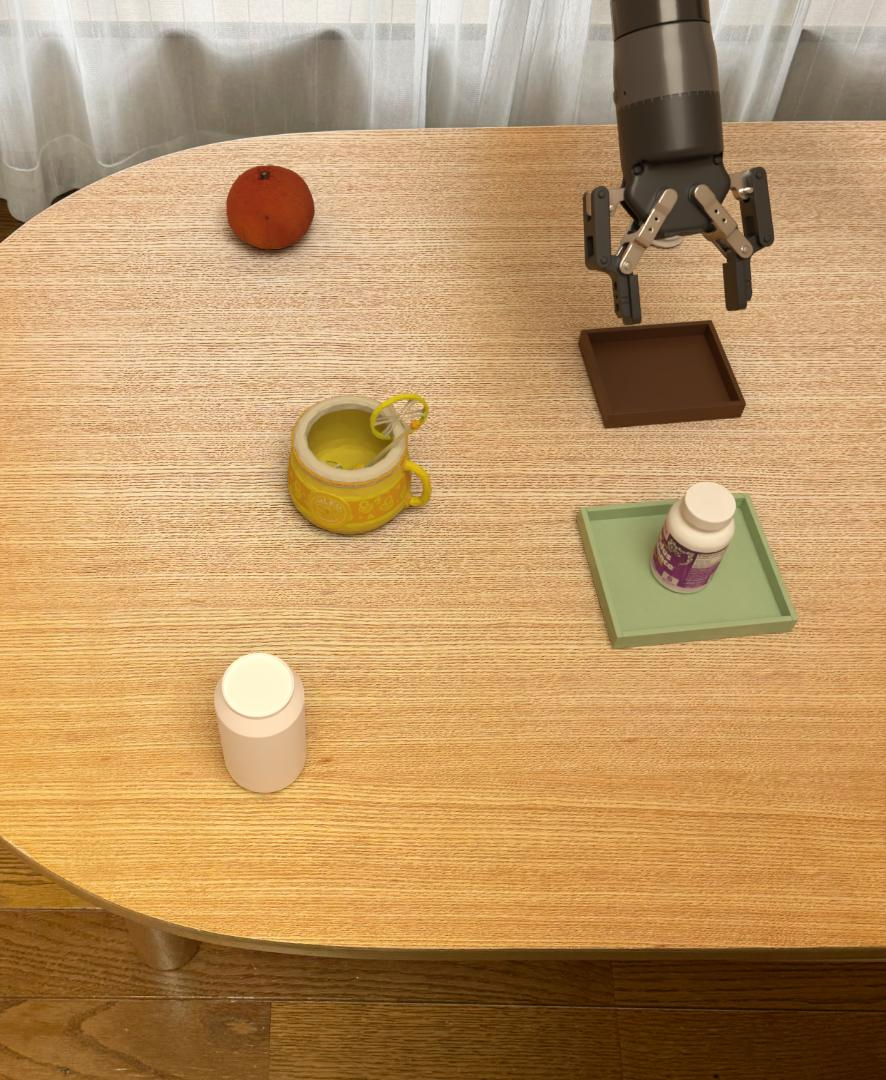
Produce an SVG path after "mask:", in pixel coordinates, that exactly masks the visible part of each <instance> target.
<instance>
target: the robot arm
mask: <svg viewBox="0 0 886 1080" xmlns="http://www.w3.org/2000/svg"><path fill="white" fill-rule="evenodd" d="M710 7H711V6H710V0H609V8H610V21H611V32H612V42H613V60H612V61H613V62H612V83H613V92H612V101H613V103H614V106H615V116H616V117H615V118H616V127H617V139H618V149H619V158H620V159H619V161H620V168H621V174H622V181H621V185H620V187H616V188H615V187H614V188H607V187H606V186H604V185H599V186H596V187H593V188H591V189H589V190H586V191H585V192H584V193H583V195H582V218H583V219H582V220H583V221H582V222H583V243H584V245H583V247H584V265H585V268H586V269H587V270H589V271H595V272H600V273H604V274H607V275H608V276H609V277H610V280H611V287H612V288H611V289H612V299H613V309H614V314H615V316H616V318H617V319H621V322H622V324H623V326H637V325H641V324H642V321H643V320H642V318H643V317H642V305H641V296H640V285H639V274H638V273H636V274H634V271H635V269H636V267H637V266H638V264H639V262H640V261H641V259H642V257H643V255H644V253H645V252H646V250H648V249H649V247H650V246H652V245H651V243H652V242H653V240H660V239H666V238H670V237H674V236H684V237H689V236H696V235H699V234H701V235H702V237H704V239H705V240H706V241H708V242H710V243H712V244H713V245H714V247H715V248H716V249H717V250H718V252H720V253H721V255H722V256H723V257H724V259H726V262H723V263H722V264H721V265H722V266H721V267H722V278H723V291H724V292H723V293H724V304H725V305H724V306H725V309H726V311H727V312H737V311H744V310H746V309H747V307H748V302H750V301H752V297H753V282H752V267H751V259H752V257H753V255H755V254H756V253H757V252H759V251H762V249H765V248H768V247H771V246H773V244H774V242H775V231H774V223H773V215H772V205H771V199H770V192H769V191H770V190H769V182H768V175H767V171H766V169H765V168H764V167H762V166H755V167H751V168H748V169H745V170H743V171H740V172H735V173H730V174H729V173H728V171H727V169H726V167H725V164H724V151H725V145H724V144H725V143H724V133H723V132H724V131H723V130H724V129H723V119H722V103H721V94H720V80H719V79H720V78H719V65H718V64H719V63H718V55H717V50H716V46H715V40H714V37H713V30H712V25H711V21H712V20H711V8H710ZM730 191H731V192H732V196H733V198H734V199H735V200H736V201H738V203H739V211H740V219H741V225H742V231H741V230H740V229H739V224H738V223H737V221H736V220H735V219H734V218H733V216H731V214H730V213H729V211H727V209H726V208H725V207H724V206H723V204H724V201H725V199H726V197H727V196H728V194H729V192H730ZM618 204H620V206H621V207H622V208H623V209H624V211H625V212H626V213H627V214H628V216H629V217H630V218H631V221H630V222H629V224H628V226H627V228H626V230H625V232H624V233H623V235H622V237H621V238H620V240H619V246H618V248H617V250H616V252H615V253H614V254H612V231H611V229H612V228H611V218H612V217H613V216H614V215H615V214H616V212H617V207H618Z"/></svg>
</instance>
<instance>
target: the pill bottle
mask: <svg viewBox="0 0 886 1080" xmlns="http://www.w3.org/2000/svg"><path fill="white" fill-rule="evenodd" d="M730 491H731V490H729V489H727V488H726V487H725V486H723V485H721V484H719V483H718V482H717V483H716V482H712V481H700V482H696V483H693V484H692V485H691V486H690V487H688V489H687V490H686V491H685V494H684V495H683V497H681V498H678V499H679V500H677V501H676V502H675V503H674V504H673V505H672V507H671V508H670V510H669V512H668V515H667V517H666V520H665V522H664V525H663V527H662V530H661V532H660V534H659V537H658V540H657V543H656V545H655V548H654V550H653V553H652V556H651V561H650V564H651V570H652V573H653V575H654V577H655V578H656V580H657V581H658V582H659V583H660V584H661V585H663V586H664V587H666V588H667V589H669V590H671V591H674V592H678V593H695V592H698V591H700V590H702V589H704V588H705V587H706V586H707V585H708V584H709V583H710V581H711V580H712V578H713V576H714V574H715V572H716V570H717V568H718V566H719V564H720V562H721V560H722V558H723V556H724V554H725V552H726V550H727V548H728V546H729V544H730V542H731V540H732V538H733V535H734V531H735V523H734V519H733V515H734V513H735V510H736V502H735V499H734V497H733V495H732V494H733V493H732V492H730Z"/></svg>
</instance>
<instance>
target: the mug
mask: <svg viewBox="0 0 886 1080" xmlns="http://www.w3.org/2000/svg"><path fill="white" fill-rule="evenodd" d="M407 400H408V401H407ZM400 401H407V402H406V403H405V404H404V406H403V408H402V409H401V411H400V412H399V413H398V412H397V410H396V408H395V406H394V403H397V402H400ZM418 402H419V403H421V404H422V405H423V408H421V409H417V410H413V411H410V409H412V408H413V406H414V405H415V404H416V403H418ZM404 410H405V411H404ZM403 411H404V412H403ZM409 411H410V412H409ZM402 412H403V413H402ZM429 412H430V411H429V405H428V403H427V401H426V398H424V397H422V396H421V395H419V394H417V393H412V392H411V393H400V394H396V395H393V396H391V397H389V398H388V399H385V400H384V401H382V402H381V401H379V400H377V399H374V398H372V397H368V396H362V395H354V394H343V395H341V394H340V395H333V396H331V397H327V398H325V399H322V400H320V401H317V402H316V403H314V404H312V405H310V406H309V407H307V408H306V409H305V410H304V411H302V412H301V415H299V416H298V418H297V420H296V421H295V424H293V427H292V430H291V435H290V450H289V455H288V462H287V470H286V479H287V481H286V483H287V489H288V493H289V498H290V499H291V502H292V503H293V505H294V507H295V509H296V510H297V511H298V512H299V513H300V515H302V516H303V517H304V519H306V520H307V521H308V522H310V523H311V524H313V525H314V526H316V527H317V528H320V529H323V530H325V531H327V532H329V533H335V534H343V535H354V534H364V533H368V532H371V531H374V530H378V529H379V528H380V527H382V526H384V525H385V524H387V523H389V522H390V521H392V520H394V519H395V517H397V515H399V514H400V513H401V512H402V510H403V509H409V508H410V506H412V507H420V506H425V505H427V504H428V503H429V502H430V500H431V496H432V493H433V487H432V483H431V482H432V481H431V478H430V477H431V476H430V475H429V473H428V472H427V470H426V469H424V468H423V467H422V466H420V465H419V464H418V463H417V462H415V461H412V460H411V459H410V452H409V440H410V439H409V436H410V435H412V434H413V433H415V432H416V431H417V430H419V429H420V428H421V427H422V426H423V425H424V424H425V422H426V420H427V419H428V416H429V414H430V413H429ZM413 414H414V415H413ZM405 415H411V416H406V417H403V416H405ZM419 417H420V418H419ZM411 418H419V419H413V420H411V422H410V424H408V423H407V422H406V421H405V419H411ZM412 473H413V474H414V475H415V476H416V478H418V479H419V480H420V482H421V485H422V492H421V495H420V496H413V492H412V491H411V490H412V489H411V488H412Z"/></svg>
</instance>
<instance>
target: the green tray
mask: <svg viewBox="0 0 886 1080" xmlns="http://www.w3.org/2000/svg"><path fill="white" fill-rule="evenodd" d="M731 494H732V495H733V497H734V499H735V502H736V510H735V513H734V515H733V519H734V523H735V531H734V535H733V538H732V540H731V542H730V544H729V546H728V548H727V550H726V552H725V554H724V556H723V558H722V560H721V562H720V564H719V566H718V568H717V570H716V572H715V574H714V576H713V578H712V580H711V581H710V583H709V584H708V585H707V586H706V587H705V588H704V589H702V590H700V591H698V592H695V593H678V592H674V591H671V590H669V589H667V588H666V587H664V586H663V585H661V584H660V583H659V582H658V581H657V580H656V578H655V577H654V575H653V573H652V570H651V564H650V561H651V556H652V553H653V550H654V548H655V545H656V543H657V540H658V537H659V534H660V532H661V530H662V527H663V525H664V522H665V520H666V517H667V515H668V512H669V510H670V508H671V507H672V505H673V504H674V503H675V502H676V501H677V500H679V499H680V498H674V499H673V498H671V499H662V500H661V499H660V500H653V501H652V500H649V501H639V502H626V503H617V504H616V503H615V504H605V505H603V504H602V505H594V506H592V505H590V506H582V507H581V506H580V507H579V509H578V513H577V517H576V524H577V527H578V531H579V534H580V538H581V542H582V546H583V548H584V552H585V556H586V560H587V562H588V566H589V570H590V573H591V577H592V581H593V584H594V588H595V591H596V595H597V598H598V602H599V606H600V609H601V612H602V615H603V616H602V617H603V620H604V623H605V626H606V630H607V634H608V638H609V641H610V644H611V648H612V650H617V649H627V648H638V647H648V646H657V645H669V644H678V643H688V642H700V641H709V640H719V639H729V638H730V639H731V638H740V637H750V636H761V635H768V634H769V635H770V634H771V635H772V634H780V633H791V632H792V631H793V629H794V628H795V626H796V625H797V623H798V621H799V617H798V615H797V612H796V609H795V607H794V605H793V601H792V600H791V597H790V594H789V592H788V589H787V587H786V585H785V581H784V579H783V577H782V574H781V571H780V569H779V567H778V564H777V561H776V558H775V556H774V554H773V551H772V548H771V546H770V543H769V541H768V539H767V536H766V534H765V530H764V528H763V526H762V523H761V520H760V517H759V515H758V513H757V510H756V508H755V505H754V503H753V501H752V498H751V495H750V493H749V492H742V493H731Z"/></svg>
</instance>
